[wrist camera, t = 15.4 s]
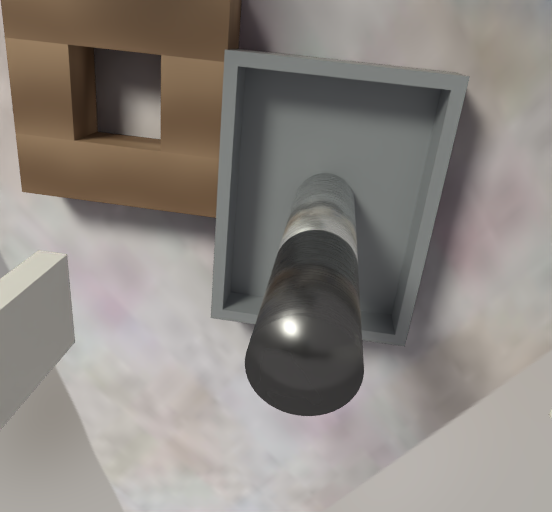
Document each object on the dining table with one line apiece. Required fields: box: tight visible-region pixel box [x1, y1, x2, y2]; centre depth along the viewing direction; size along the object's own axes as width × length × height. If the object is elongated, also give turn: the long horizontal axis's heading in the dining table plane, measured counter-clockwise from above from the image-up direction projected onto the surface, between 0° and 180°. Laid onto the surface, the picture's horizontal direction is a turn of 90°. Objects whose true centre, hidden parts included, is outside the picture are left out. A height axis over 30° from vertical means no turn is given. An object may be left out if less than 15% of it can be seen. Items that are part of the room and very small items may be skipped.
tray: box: [211, 49, 470, 347], centre depth 25 cm, size 13×10×3 cm
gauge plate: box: [1, 0, 242, 218], centre depth 24 cm, size 10×10×2 cm
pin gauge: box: [245, 173, 364, 416], centre depth 19 cm, size 3×3×14 cm
